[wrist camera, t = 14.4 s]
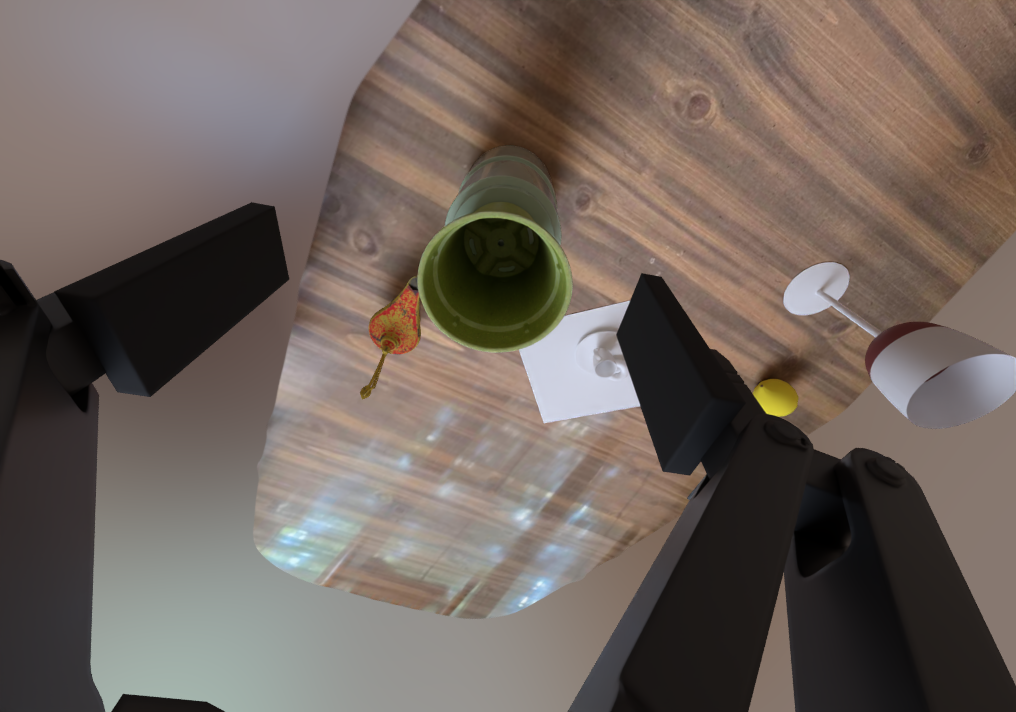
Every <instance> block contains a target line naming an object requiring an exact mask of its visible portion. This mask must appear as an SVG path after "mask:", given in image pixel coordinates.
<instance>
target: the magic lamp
mask: <svg viewBox="0 0 1016 712" xmlns="http://www.w3.org/2000/svg"><path fill="white" fill-rule="evenodd" d="M417 278H418V276H414V277H412V278H411V279H410V280H409V281H408V283H407V285H406V286H405V288H404V289H403V290H402V292H401V293H400V294H399V295H398V296H397V297H396V298H395V299H394V300H393V301H392V302H390V303H389V304H388V305H387V306H385V307H384V308H382V309H381V310H379V311H378V312H377V313H375V314H374V315H373V317H372V318H371V320H370V323H369V334H370V337H371V339H372V340H373V342H374V343H375V344H376V345H377V346H378V347H379V349H381V350H382V352H383V355H382V357H381V360H380V362H379V364H378V367H377V369H376V371H375V373H374V375H373V377H372V379H371V381H370V383H369V385H367V386H365V387H363V388H362V390H361V392H360V395H361V397H362V399H365V398H367V397H369V396H370V394H371V390H372V389H374V388H375V387H376V384H377V381H378V377H379V374H380V372H381V369H382V365H383V363H384V360H385V357H386V355H387V354H388V353H390V354H404V353H408V352H410V351H412V350H413V349H414V348H415V347H416V346H417V345H418V343H419V341H420V336H421V329H420V315H419V301H420V295H419V291H418V282H417ZM382 362H383V363H382ZM378 372H379V373H378ZM376 377H377V378H376ZM375 378H376V379H375ZM374 379H375V380H374ZM376 380H377V381H376ZM373 382H374V383H373ZM372 383H373V384H372ZM375 383H376V384H375ZM371 385H372V387H370V386H371ZM374 386H375V387H374ZM363 394H364V395H365V396H364V395H363Z"/></svg>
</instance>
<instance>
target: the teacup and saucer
mask: <svg viewBox="0 0 1016 712" xmlns="http://www.w3.org/2000/svg"><path fill="white" fill-rule="evenodd" d="M616 334H617V332H616V331H612V330H599V331H595V332H592V333H590V334H588V335H587V336H585V337H584V338H583V339H582V340H581V341H580V342H579V343H578V344H577V346H576V348H575V351H574V360H575V363H576V365H577V366H578V367H579V368H580V369H581V370H582V371H583V372H585V373H587V374H589V375H593V376H597V377H599V378H602V379H608V380H610V381H612V382H620V381H623V380H625V379H626V378H627V377H628V376H629V371H628V368H627V365H626V362H625V360H624V357H623V354H622V351H621V348H620V345H619V342H618V339H617V336H616ZM604 346H608V347H609V348H610V350H609V349H607V348H605V347H604Z"/></svg>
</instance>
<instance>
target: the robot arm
mask: <svg viewBox="0 0 1016 712" xmlns="http://www.w3.org/2000/svg"><path fill="white" fill-rule="evenodd" d="M288 280H289V275H288V271H287V266H286V261H285V256H284V251H283V246H282V241H281V236H280V231H279V226H278V221H277V216H276V211H275V207H274V206H269V205H263V204H257V203H252V202H251V203H250V204H247V205H245V206H243V207H241V208H238V209H236V210H234V211H232V212H229V213H227V214H225V215H223V216H221V217H218V218H216V219H214V220H212V221H209V222H208V223H205V224H203V225H201V226H199V227H196V228H194V229H192V230H190V231H187V232H185V233H183V234H181V235H178V236H176V237H174V238H172V239H170V240H167V241H165V242H163V243H161V244H159V245H156V246H154V247H152V248H150V249H148V250H145V251H143V252H141V253H139V254H136V255H134V256H132V257H130V258H128V259H125V260H123V261H121V262H119V263H116V264H115V265H112V266H110V267H108V268H105V269H103V270H101V271H99V272H97V273H95V274H92V275H90V276H88V277H85V278H83V279H81V280H79V281H77V282H75V283H72V284H70V285H68V286H66V287H63V288H61V289H59V290H57V291H55V292H54V293H51V294H49V295H47V296H44V297H42V298H40V299H38V300H36V299H35V298H34V297H33V295H32V293H31V292H30V291H29V289H28V287H27V286H26V285H25V283H24V282H23V280H22V279H21V277H20V276H19V274H18V273H17V271H16V270H15V268H14V267H13V265H12V264H11V263H8V262H6V261H3V260H0V712H105V709H104V705H103V701H102V698H101V696H100V694H99V692H98V690H97V688H96V686H95V684H94V682H93V679H92V674H91V665H90V658H91V627H92V625H91V624H92V595H93V565H94V533H95V503H96V471H97V441H98V440H97V439H98V438H97V437H98V409H99V394H98V392H97V390H96V389H95V387H94V385H93V384H92V382H94V381H95V380H97V379H98V378H99V377H101V376H102V375H104V374H105V373H106V375H107V376H108V378H109V380H110V381H111V383H112V384H113V386H114V387H115V389H116V391H117V392H120V393H128V394H135V395H141V396H147V397H151V396H152V395H153V394H154V393H156V392H157V391H158V390H159V389H160V388H161V387H162V386H164V385H165V384H166V383H167V382H169V381H170V380H171V379H172V378H173V377H174V376H176V375H177V374H178V373H179V372H180V371H182V370H183V369H184V368H185V367H186V366H187V365H189V364H190V363H191V362H192V361H193V360H194V359H196V358H197V357H198V356H199V355H200V354H201V353H203V352H204V351H205V350H206V349H208V348H209V347H210V346H211V345H212V344H213V343H215V342H216V341H217V340H218V339H219V338H220V337H222V336H223V335H224V334H225V333H227V332H228V331H229V330H230V329H231V328H232V327H233V326H235V325H236V324H237V323H238V322H240V321H241V320H242V319H243V318H244V317H245V316H247V315H248V314H249V313H250V312H251V311H253V310H254V309H255V308H256V307H257V306H258V305H260V304H261V303H262V302H263V301H264V300H266V299H267V298H268V297H269V296H270V295H271V294H273V293H274V292H275V291H276V290H277V289H278V288H280V287H281V286H282V285H283V284H284V283H286V282H287V281H288ZM616 336H617V339H618V342H619V345H620V348H621V351H622V354H623V357H624V360H625V362H626V365H627V368H628V371H629V374H630V377H631V380H632V383H633V386H634V389H635V392H636V395H637V398H638V400H639V403H640V406H641V409H642V412H643V415H644V418H645V421H646V424H647V427H648V430H649V433H650V436H651V438H652V441H653V444H654V447H655V450H656V453H657V456H658V459H659V462H660V465H661V468H662V471H663V472H670V473H677V474H684V475H691V473H692V472H693V471H694V470H695V468H696V467H697V466H698V464H699V463H700V462H702V464H703V466H704V468H705V471H706V473H707V474H706V476H705V477H704V478H703V479H702V480H701V482H700V483H699V484H698V485H697V487H696V488H695V489H694V490H693V491H692V493H691V494H690V495H689V496H688V498H687V499H689V500H690V501H689V502H688V504H687V506H686V508H685V509H684V511H683V513H682V514H681V517H680V518H679V520H678V521H677V523H676V525H675V527H674V528H673V530H672V532H671V533H670V535H669V537H668V539H667V540H666V542H665V544H664V546H663V547H662V549H661V551H660V553H659V554H658V556H657V558H656V560H655V561H654V563H653V565H652V566H651V568H650V570H649V572H648V573H647V575H646V577H645V578H644V580H643V582H642V584H641V586H640V587H639V589H638V591H637V593H636V594H635V596H634V598H633V599H632V601H631V603H630V605H629V606H628V608H627V610H626V612H625V613H624V615H623V617H622V619H621V620H620V622H619V623H618V625H617V627H616V629H615V630H614V632H613V634H612V636H611V638H610V639H609V641H608V643H607V644H606V646H605V648H604V649H603V651H602V653H601V655H600V656H599V658H598V660H597V662H596V663H595V665H594V667H593V669H592V670H591V672H590V674H589V675H588V677H587V679H586V681H585V682H584V684H583V686H582V688H581V689H580V691H579V693H578V694H577V696H576V698H575V700H574V701H573V703H572V705H571V707H570V709H569V710H568V712H748V710H749V706H750V702H751V698H752V694H753V691H754V687H755V683H756V679H757V675H758V671H759V667H760V663H761V659H762V655H763V651H764V647H765V643H766V639H767V635H768V631H769V627H770V623H771V619H772V616H773V612H774V607H775V604H776V600H777V596H778V591H779V588H780V584H781V580H782V576H783V572H784V579H785V591H786V602H787V615H788V627H789V638H790V651H791V663H792V675H793V687H794V699H795V711H796V712H1016V686H1015V683H1014V681H1013V679H1012V677H1011V675H1010V673H1009V671H1008V669H1007V667H1006V665H1005V663H1004V660H1003V659H1002V656H1001V654H1000V652H999V650H998V648H997V646H996V644H995V642H994V639H993V637H992V635H991V633H990V631H989V629H988V627H987V625H986V623H985V621H984V619H983V617H982V614H981V612H980V610H979V608H978V606H977V604H976V602H975V600H974V598H973V596H972V594H971V591H970V589H969V587H968V585H967V583H966V581H965V579H964V577H963V575H962V573H961V571H960V568H959V566H958V564H957V562H956V560H955V558H954V556H953V554H952V552H951V550H950V548H949V546H948V544H947V541H946V539H945V537H944V535H943V533H942V531H941V529H940V527H939V525H938V523H937V520H936V518H935V516H934V514H933V512H932V510H931V508H930V506H929V504H928V502H927V500H926V497H925V495H924V493H923V491H922V489H921V487H920V486H919V484H918V483H917V482H916V480H915V479H914V478H913V477H912V476H911V475H910V474H909V473H908V472H907V471H906V470H905V468H903V467H902V466H901V465H900V464H898V463H895V461H894V460H892V459H891V458H889V457H885V456H883V455H881V454H879V453H877V452H875V451H872V450H868V449H865V448H855V449H853V450H852V451H850V452H849V453H848V454H847V455H846V456H845V457H843V458H842V459H838V458H836V457H833V456H830V455H828V454H825V453H822V452H820V451H817V450H814V449H813V444H812V443H811V442H810V440H809V438H808V437H807V436H806V435H805V434H804V433H803V432H802V431H801V430H800V429H799V428H797V427H796V426H794V425H793V424H791V423H790V422H788V421H786V420H784V419H782V418H780V417H777V416H774V415H770V414H766V412H765V411H764V409H763V408H762V406H761V405H760V404H759V402H758V401H757V399H756V398H755V397H754V395H753V394H752V392H751V391H750V390H749V388H748V387H747V385H745V384H744V381H743V380H742V378H741V377H740V375H737V371H736V370H735V368H734V367H733V366H732V364H731V363H730V361H729V360H727V359H726V358H725V357H724V356H723V355H721V354H720V353H719V352H718V351H717V350H714V349H710V348H709V347H708V345H707V344H706V342H705V341H704V339H703V338H702V336H701V335H700V333H699V332H698V331H697V329H696V328H695V326H694V325H693V323H692V322H691V320H690V319H689V317H688V316H687V314H686V313H685V311H684V310H683V308H682V307H681V305H680V304H679V302H678V301H677V299H676V298H675V296H674V295H673V293H672V292H671V290H670V289H669V287H668V286H667V284H666V283H665V281H664V280H663V278H662V277H659V276H654V275H648V274H643V273H642V274H641V276H640V278H639V281H638V283H637V286H636V288H635V290H634V293H633V295H632V298H631V300H630V303H629V305H628V307H627V310H626V312H625V315H624V317H623V319H622V322H621V324H620V327H619V329H618V331H617V334H616ZM112 712H224V711H223V710H221V709H219V708H217V707H215V706H213V705H211V704H210V703H208V702H202V701H192V700H181V699H171V698H161V697H150V696H139V695H129V694H123V695H122V696H121V698H120V699H119V701H118V703H117V704H116V706H115V707H114V709H113V710H112Z"/></svg>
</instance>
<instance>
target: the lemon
mask: <svg viewBox="0 0 1016 712" xmlns="http://www.w3.org/2000/svg"><path fill="white" fill-rule="evenodd" d="M753 395H754V397H755V398H756V399H757V401H758V402H759V404H760V405H761V406H762V408H763V409H764V411H765V412H766V414H770V415H774V416H777V417H780V416H786V415H788V414H790V413H792V412H793V411H794V410H795V409H796V407H797V402H798V395H797V393H796V391H795V389H794V388H793V387H791V386H790V385H789V384H788V383H787V382H784V381H782V380H779V379H768V380H765V381H761V382H760V383H759V384H758V385H757V386H756V387H755V389H754V392H753Z"/></svg>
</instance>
